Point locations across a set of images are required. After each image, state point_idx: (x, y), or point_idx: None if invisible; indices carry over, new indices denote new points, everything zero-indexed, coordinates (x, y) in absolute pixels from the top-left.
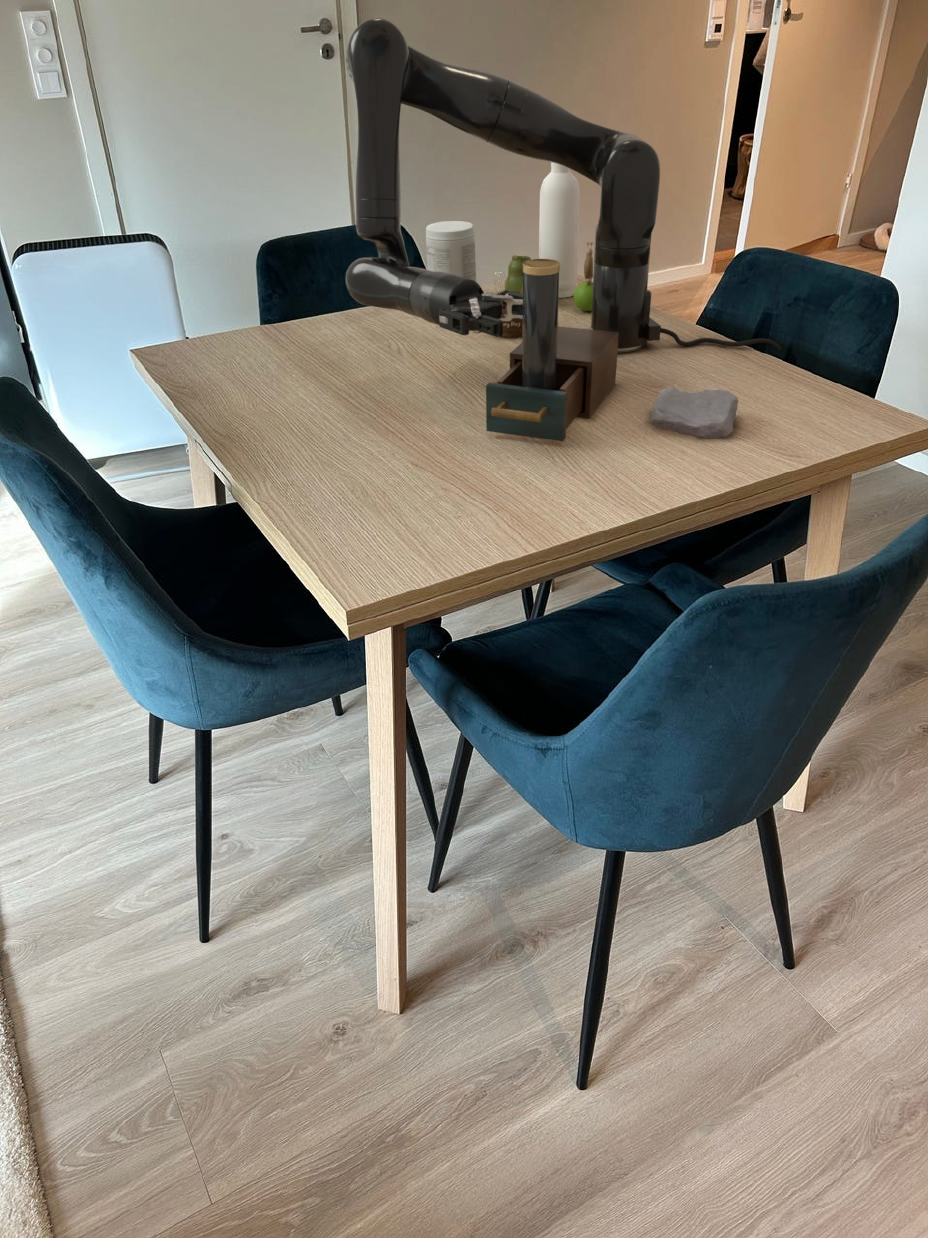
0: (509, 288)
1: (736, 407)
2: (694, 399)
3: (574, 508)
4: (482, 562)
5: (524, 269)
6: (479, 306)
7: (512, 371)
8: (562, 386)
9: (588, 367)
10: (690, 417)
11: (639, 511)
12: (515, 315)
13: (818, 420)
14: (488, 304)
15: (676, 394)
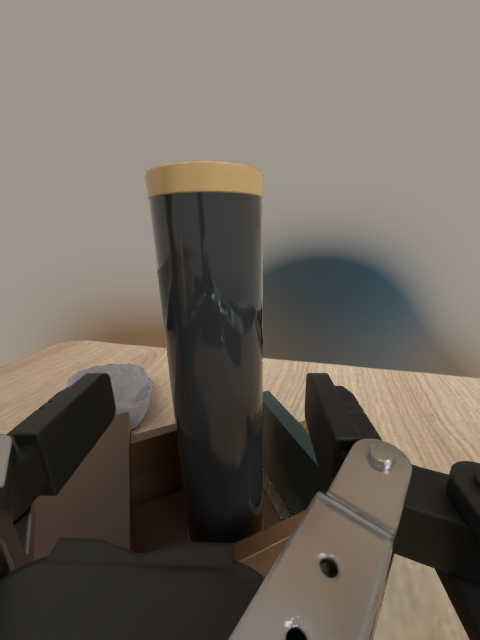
0: None
1: None
2: None
3: (351, 385)
4: (468, 380)
5: (260, 184)
6: (316, 495)
7: (238, 542)
8: None
9: (130, 425)
10: (139, 385)
11: (306, 365)
12: (31, 539)
13: (70, 365)
14: (117, 609)
15: None
